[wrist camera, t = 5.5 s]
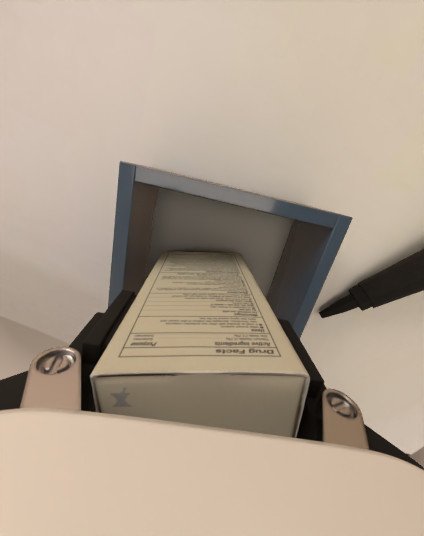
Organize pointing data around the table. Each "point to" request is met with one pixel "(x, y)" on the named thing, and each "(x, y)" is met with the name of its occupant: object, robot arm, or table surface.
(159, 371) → the cosmetic box
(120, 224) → the open box
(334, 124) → the table surface
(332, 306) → the microphone
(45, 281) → the table surface
